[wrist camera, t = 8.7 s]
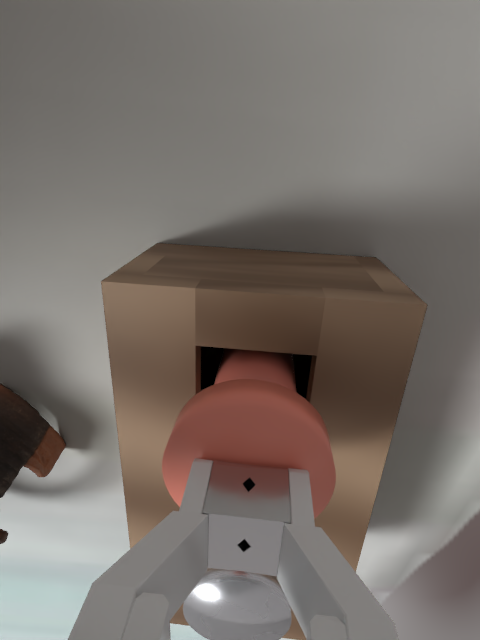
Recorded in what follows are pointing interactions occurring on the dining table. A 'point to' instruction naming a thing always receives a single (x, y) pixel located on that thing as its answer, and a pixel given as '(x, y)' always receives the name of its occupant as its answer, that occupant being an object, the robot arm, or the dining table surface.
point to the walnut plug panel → (260, 335)
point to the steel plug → (238, 606)
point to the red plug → (252, 425)
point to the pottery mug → (24, 442)
